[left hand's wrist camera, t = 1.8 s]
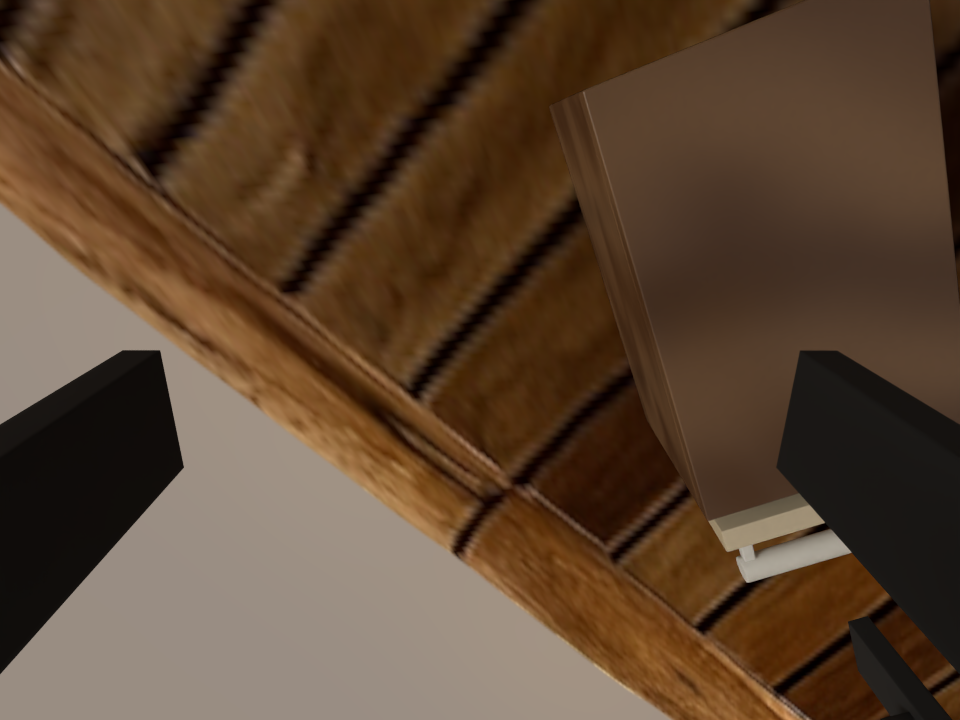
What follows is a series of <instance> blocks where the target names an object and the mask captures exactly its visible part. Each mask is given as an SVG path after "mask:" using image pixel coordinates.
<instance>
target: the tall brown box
mask: <svg viewBox="0 0 960 720" xmlns="http://www.w3.org/2000/svg"><path fill="white" fill-rule="evenodd" d="M549 108H550V111H551V115H552V118H553V121H554V124H555V127H556V131H557V134H558V137H559V140H560V143H561V147H562V150H563V153H564V156H565V159H566V163H567V166H568V169H569V172H570V175H571V179H572V182H573V185H574V188H575V191H576V195H577V198H578V201H579V204H580V207H581V211H582V214H583V217H584V220H585V223H586V227H587V230H588V233H589V236H590V239H591V243H592V246H593V249H594V252H595V255H596V259H597V262H598V265H599V268H600V271H601V275H602V278H603V281H604V284H605V287H606V291H607V294H608V297H609V300H610V304H611V307H612V310H613V313H614V316H615V320H616V323H617V326H618V329H619V332H620V336H621V339H622V342H623V345H624V348H625V352H626V355H627V358H628V361H629V364H630V368H631V371H632V374H633V377H634V380H635V384H636V387H637V390H638V393H639V396H640V400H641V403H642V406H643V409H644V412H645V416H646V419H647V421H648V423H649V424H650V426H651V428H652V429H653V431H654V433H655V434H656V436H657V438H658V439H659V441H660V443H661V444H662V446H663V447H664V449H665V451H666V452H667V454H668V456H669V457H670V459H671V461H672V462H673V464H674V466H675V467H676V469H677V471H678V472H679V474H680V476H681V477H682V479H683V481H684V482H685V484H686V486H687V487H688V489H689V491H690V492H691V494H692V496H693V497H694V499H695V501H696V502H697V504H698V506H699V507H700V509H701V511H702V512H703V514H704V516H705V517H706V519H707V520H708V521H711V520H714V519H717V518H721V517H724V516H727V515H730V514H734V513H737V512H740V511H743V510H747V509H750V508H753V507H757V506H760V505H763V504H766V503H770V502H773V501H776V500H779V499H783V498H786V497H789V496H792V495H796V494H799V493H798V491H797V490H796V489H795V488H794V487H793V486H792V485H791V484H790V482H789V481H788V480H787V479H786V478H785V477H784V476H783V475H782V473H781V472H780V471H779V470H778V469H777V468H776V466H777V461H778V456H779V451H780V446H781V441H782V436H783V431H784V426H785V421H786V417H787V412H788V407H789V402H790V397H791V392H792V387H793V382H794V377H795V372H796V367H797V362H798V358H799V353H800V350H837V351H839V352H841V353H842V354H844V355H846V356H847V357H849V358H851V359H852V360H854V361H856V362H857V363H859V364H860V365H862V366H864V367H865V368H867V369H869V370H870V371H872V372H874V373H875V374H877V375H879V376H880V377H882V378H884V379H885V380H887V381H889V382H890V383H892V384H894V385H895V386H897V387H898V388H900V389H902V390H903V391H905V392H907V393H908V394H910V395H912V396H913V397H915V398H917V399H918V400H920V401H922V402H923V403H925V404H927V405H928V406H930V407H932V408H933V409H935V410H936V411H938V412H940V413H941V414H943V415H945V416H946V417H948V418H950V419H951V420H953V421H955V422H956V423H958V424H960V301H959V291H958V281H957V271H956V261H955V251H954V241H953V231H952V221H951V211H950V201H949V191H948V181H947V171H946V160H945V150H944V140H943V130H942V120H941V110H940V100H939V90H938V80H937V70H936V60H935V50H934V40H933V30H932V20H931V10H930V0H804V1H802V2H799V3H797V4H794V5H792V6H789V7H787V8H784V9H782V10H779V11H777V12H775V13H772V14H770V15H767V16H765V17H762V18H760V19H757V20H755V21H752V22H750V23H748V24H745V25H743V26H740V27H738V28H735V29H733V30H730V31H728V32H725V33H723V34H720V35H718V36H716V37H713V38H711V39H708V40H706V41H703V42H701V43H698V44H696V45H693V46H691V47H689V48H686V49H684V50H681V51H679V52H676V53H674V54H671V55H669V56H666V57H664V58H661V59H659V60H657V61H654V62H652V63H649V64H647V65H644V66H642V67H639V68H637V69H634V70H632V71H630V72H627V73H625V74H622V75H620V76H617V77H615V78H612V79H610V80H607V81H605V82H602V83H600V84H598V85H595V86H593V87H590V88H588V89H585V90H583V91H581V92H579V93H576V94H574V95H572V96H570V97H567V98H565V99H563V100H561V101H559V102H556V103H554V104H552V105H550V106H549Z"/></svg>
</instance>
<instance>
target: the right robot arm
mask: <svg viewBox="0 0 960 720" xmlns="http://www.w3.org/2000/svg"><path fill="white" fill-rule="evenodd" d="M848 624H849V628H850V633H851V638H852V643H853V648H854V652H855V657H856V662H857V667H858V671H859V672H860V674H861V675H862V676H863V678H864V679H865V681H866V682H867V683H868V685H869V686H870V688H871V689H872V690H873V692H874V693H875V695H876V696H877V697H878V699H879V700H880V702H881V703H882V704H883V706H884V707H885V709H886V710H887V711H888V713H889V714H890V717H886V718H882V719H881V720H952V719H951V718H950V717H949V715H948V714H947V713H946V712H945V710H944V709H943V708H942V707H941V705H940V704H939V703H938V702H937V701H936V699H935V698H934V697H933V696H932V694H931V693H930V692H929V691H928V690H927V688H926V687H925V686H924V685H923V683H922V682H921V681H920V680H919V679H918V677H917V676H916V675H915V674H914V672H913V671H912V670H911V669H910V668H909V666H908V665H907V664H906V663H905V661H904V660H903V659H902V658H901V657H900V655H899V654H898V653H897V652H896V650H895V649H894V648H893V647H892V645H891V644H890V643H889V642H888V641H887V639H886V638H885V637H884V636H883V634H882V633H881V632H880V631H879V630H878V628H877V627H876V626H875V625H874V623H873V622H872V621H871V620H870V619H869V617H868V616H867V617H863V618H859V619H856V620H852V621H849V622H848Z"/></svg>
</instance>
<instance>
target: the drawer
mask: <svg viewBox="0 0 960 720" xmlns="http://www.w3.org/2000/svg"><path fill="white" fill-rule="evenodd" d="M709 523H710V525H711V526H712V528H713V530H714V531H715V533H716V534H717V536H718V538H719V539H720V541H721V543H722V544H723V546H724V548H725V549H726V551H727V552H729V551H733V550H736V549H739V551H740V554H741V556H738V557H736V560H737V564H738V567H739V569H740V571H741V574H742V576H743V577H744V579H745V581H746V582H747V583H749V582H753V581H756V580H760V579H763V578H767V577H770V576H773V575H777V574H780V573H784V572H787V571H791V570H794V569H797V568H801V567H804V566H808V565H811V564H814V563H818V562H821V561H825V560H828V559H832V558H835V557H838V556H842V555H845V554H849V553H852V552H851V551H850V550H849V549H848V548H847V547H846V546H845V544H844V543H843V542H842V541H841V540H840V539H839V538H838V537H837V535H836V534H835V533H834V532H833V531H832V530H831V529H828V530H825V531H822V532H818V533H815V534H812V535H808V536H805V537H801V538H798V539H795V540H791V541H788V542H785V543H781V544H778V545H775V546H771V547H768V548H765V549H761V550H758V551H754V549H753V544H756V543H759V542H763V541H766V540H769V539H773V538H776V537H779V536H783V535H786V534H789V533H793V532H796V531H799V530H803V529H806V528H809V527H813V526H816V525H819V524H823V523H825V522H824V521H823V520H822V519H821V517H820V516H819V515H818V514H817V513H816V512H815V511H814V509H813V508H812V507H811V506H810V505H809V504H808V503H807V502H806V500H805V499H804V498H803V497H802V496H801V495H800V494H796V495H792V496H789V497H786V498H783V499H779V500H776V501H773V502H770V503H766V504H763V505H760V506H757V507H753V508H750V509H747V510H743V511H740V512H737V513H734V514H730V515H727V516H724V517H721V518H717V519H714V520H711V521H709Z"/></svg>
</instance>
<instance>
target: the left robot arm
mask: <svg viewBox="0 0 960 720" xmlns="http://www.w3.org/2000/svg"><path fill="white" fill-rule="evenodd" d="M183 468H184V466H183V461H182V456H181V451H180V446H179V441H178V436H177V431H176V426H175V421H174V417H173V412H172V407H171V402H170V397H169V392H168V387H167V382H166V377H165V372H164V367H163V362H162V358H161V353H160V351H159V350H123V351H121V352H119V353H118V354H116V355H114V356H113V357H111V358H109V359H108V360H106V361H105V362H103V363H101V364H100V365H98V366H96V367H95V368H93V369H91V370H90V371H88V372H86V373H85V374H83V375H81V376H80V377H78V378H76V379H75V380H73V381H71V382H70V383H68V384H67V385H65V386H63V387H62V388H60V389H58V390H57V391H55V392H53V393H52V394H50V395H48V396H47V397H45V398H43V399H42V400H40V401H38V402H37V403H35V404H33V405H32V406H30V407H28V408H27V409H25V410H24V411H22V412H20V413H19V414H17V415H15V416H14V417H12V418H10V419H9V420H7V421H5V422H4V423H2V424H0V674H1V673H2V671H3V670H4V669H5V668H6V667H7V666H8V665H9V664H10V662H11V661H12V660H13V659H14V658H15V657H16V656H17V655H18V654H19V652H20V651H21V650H22V649H23V648H24V647H25V646H26V645H27V643H28V642H29V641H30V640H31V639H32V638H33V637H34V636H35V634H36V633H37V632H38V631H39V630H40V629H41V628H42V627H43V625H44V624H45V623H46V622H47V621H48V620H49V619H50V618H51V616H52V615H53V614H54V613H55V612H56V611H57V610H58V609H59V607H60V606H61V605H62V604H63V603H64V602H65V601H66V599H67V598H68V597H69V596H70V595H71V594H72V593H73V592H74V591H75V589H76V588H77V587H78V586H79V585H80V584H81V583H82V581H83V580H84V579H85V578H86V577H87V576H88V575H89V574H90V572H91V571H92V570H93V569H94V568H95V567H96V566H97V565H98V563H99V562H100V561H101V560H102V559H103V558H104V557H105V556H106V555H107V553H108V552H109V551H110V550H111V549H112V548H113V547H114V546H115V544H116V543H117V542H118V541H119V540H120V539H121V538H122V536H123V535H124V534H125V533H126V532H127V531H128V530H129V529H130V527H131V526H132V525H133V524H134V523H135V522H136V521H137V520H138V519H139V517H140V516H141V515H142V514H143V513H144V512H145V511H146V509H147V508H148V507H149V506H150V505H151V504H152V503H153V502H154V500H155V499H156V498H157V497H158V496H159V495H160V494H161V493H162V491H163V490H164V489H165V488H166V487H167V486H168V485H169V484H170V482H171V481H172V480H173V479H174V478H175V477H176V476H177V475H178V473H179V472H180V471H181V470H182V469H183ZM776 468H777V469H778V470H779V471H780V472H781V473H782V475H783V476H784V477H785V478H786V479H787V480H788V481H789V482H790V484H791V485H792V486H793V487H794V488H795V489H796V490H797V491H798V493H799V494H800V495H801V496H802V497H803V498H804V499H805V500H806V502H807V503H808V504H809V505H810V506H811V507H812V508H813V509H814V511H815V512H816V513H817V514H818V515H819V516H820V517H821V519H822V520H823V521H824V522H825V523H826V524H827V525H828V526H829V528H830V529H831V530H832V531H833V532H834V533H835V534H836V535H837V537H838V538H839V539H840V540H841V541H842V542H843V543H844V544H845V546H846V547H847V548H848V549H849V550H850V551H851V552H852V553H853V555H854V556H855V557H856V558H857V559H858V560H859V561H860V562H861V564H862V565H863V566H864V567H865V568H866V569H867V570H868V571H869V573H870V574H871V575H872V576H873V577H874V578H875V579H876V580H877V582H878V583H879V584H880V585H881V586H882V587H883V588H884V589H885V591H886V592H887V593H888V594H889V595H890V596H891V597H892V598H893V600H894V601H895V602H896V603H897V604H898V605H899V606H900V607H901V609H902V610H903V611H904V612H905V613H906V614H907V615H908V616H909V618H910V619H911V620H912V621H913V622H914V623H915V624H916V625H917V627H918V628H919V629H920V630H921V631H922V632H923V633H924V634H925V636H926V637H927V638H928V639H929V640H930V641H931V642H932V643H933V645H934V646H935V647H936V648H937V649H938V650H939V651H940V652H941V654H942V655H943V656H944V657H945V658H946V659H947V660H948V661H949V663H950V664H951V665H952V666H953V667H954V668H955V669H956V670H957V672H958V673H959V674H960V424H958V423H956V422H955V421H953V420H951V419H950V418H948V417H946V416H945V415H943V414H941V413H940V412H938V411H936V410H935V409H933V408H932V407H930V406H928V405H927V404H925V403H923V402H922V401H920V400H918V399H917V398H915V397H913V396H912V395H910V394H908V393H907V392H905V391H903V390H902V389H900V388H898V387H897V386H895V385H894V384H892V383H890V382H889V381H887V380H885V379H884V378H882V377H880V376H879V375H877V374H875V373H874V372H872V371H870V370H869V369H867V368H865V367H864V366H862V365H860V364H859V363H857V362H856V361H854V360H852V359H851V358H849V357H847V356H846V355H844V354H842V353H841V352H839V351H837V350H800V353H799V358H798V362H797V367H796V372H795V377H794V382H793V387H792V392H791V397H790V402H789V407H788V412H787V417H786V421H785V426H784V431H783V436H782V441H781V446H780V451H779V456H778V461H777V466H776Z"/></svg>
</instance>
